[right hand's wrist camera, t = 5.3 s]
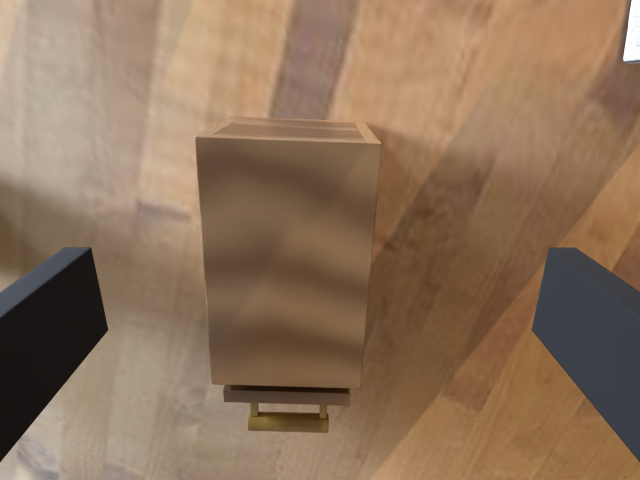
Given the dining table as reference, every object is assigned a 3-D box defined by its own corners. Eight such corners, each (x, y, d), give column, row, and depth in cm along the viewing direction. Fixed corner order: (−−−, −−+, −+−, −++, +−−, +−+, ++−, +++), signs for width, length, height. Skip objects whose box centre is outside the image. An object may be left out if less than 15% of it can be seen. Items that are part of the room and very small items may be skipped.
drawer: (340, 381, 45) (345, 455, 36) (244, 378, 45) (226, 452, 36) (355, 167, 37) (365, 198, 28) (237, 163, 36) (211, 193, 28)
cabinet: (350, 311, 43) (360, 388, 32) (238, 307, 43) (211, 384, 32) (364, 121, 36) (381, 143, 26) (230, 116, 36) (194, 136, 26)
